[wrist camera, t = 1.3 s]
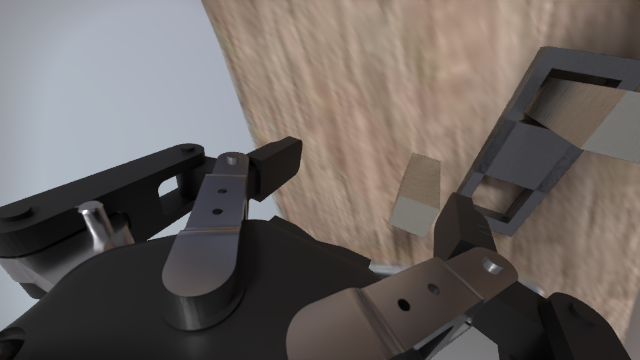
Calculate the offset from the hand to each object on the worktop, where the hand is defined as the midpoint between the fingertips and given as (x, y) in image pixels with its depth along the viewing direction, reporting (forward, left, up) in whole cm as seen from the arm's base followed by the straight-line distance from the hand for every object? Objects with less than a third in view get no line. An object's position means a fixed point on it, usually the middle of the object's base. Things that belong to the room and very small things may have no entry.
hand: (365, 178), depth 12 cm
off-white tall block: (+10, +5, -28) cm, 31 cm away
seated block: (-4, +16, -28) cm, 33 cm away
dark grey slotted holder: (+3, +16, -28) cm, 33 cm away
